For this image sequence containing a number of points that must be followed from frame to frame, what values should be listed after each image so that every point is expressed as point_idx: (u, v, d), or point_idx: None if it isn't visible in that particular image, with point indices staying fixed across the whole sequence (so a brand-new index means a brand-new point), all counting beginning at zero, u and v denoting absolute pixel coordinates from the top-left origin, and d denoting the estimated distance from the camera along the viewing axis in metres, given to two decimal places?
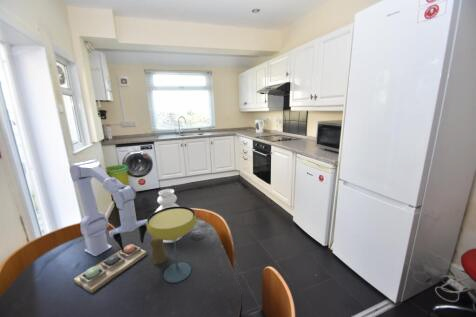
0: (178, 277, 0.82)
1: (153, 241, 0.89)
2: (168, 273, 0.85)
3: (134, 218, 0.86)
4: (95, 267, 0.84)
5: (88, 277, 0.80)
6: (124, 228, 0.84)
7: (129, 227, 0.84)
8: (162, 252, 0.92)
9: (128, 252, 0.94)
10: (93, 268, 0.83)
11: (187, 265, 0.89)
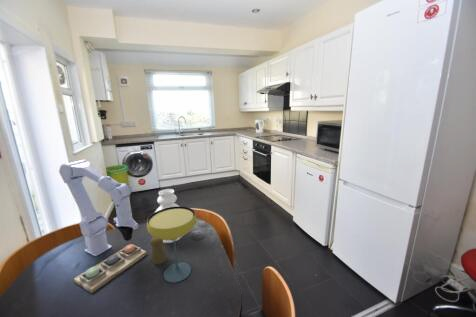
0: (178, 277, 0.82)
1: (153, 241, 0.89)
2: (168, 273, 0.85)
3: (122, 216, 0.90)
4: (95, 267, 0.84)
5: (88, 277, 0.80)
6: None
7: (118, 222, 0.91)
8: (162, 252, 0.92)
9: (128, 252, 0.94)
10: (93, 268, 0.83)
11: (187, 265, 0.89)
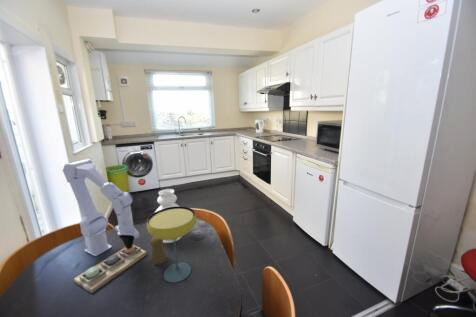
0: (178, 277, 0.82)
1: (153, 241, 0.89)
2: (168, 273, 0.85)
3: (124, 225, 0.91)
4: (95, 267, 0.84)
5: (88, 277, 0.80)
6: None
7: (119, 230, 0.92)
8: (162, 252, 0.92)
9: (128, 253, 0.94)
10: (93, 268, 0.83)
11: (187, 265, 0.89)
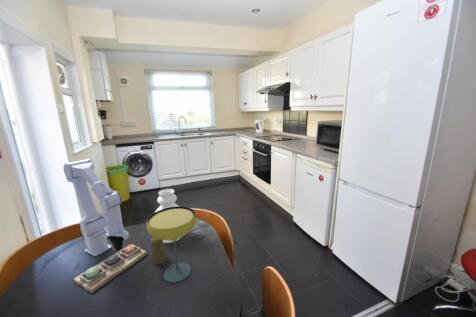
0: (178, 277, 0.82)
1: (153, 241, 0.89)
2: (168, 273, 0.85)
3: (112, 226, 0.86)
4: (95, 267, 0.84)
5: (88, 277, 0.80)
6: None
7: (108, 231, 0.87)
8: (162, 252, 0.92)
9: (128, 254, 0.94)
10: (93, 268, 0.83)
11: (187, 265, 0.89)
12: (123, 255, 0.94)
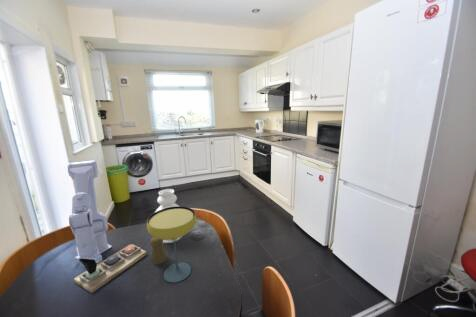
0: (178, 277, 0.82)
1: (153, 241, 0.89)
2: (168, 273, 0.85)
3: (83, 248, 0.77)
4: None
5: (88, 279, 0.80)
6: None
7: (78, 254, 0.78)
8: (162, 252, 0.92)
9: (128, 254, 0.94)
10: None
11: (187, 265, 0.89)
12: (123, 255, 0.94)
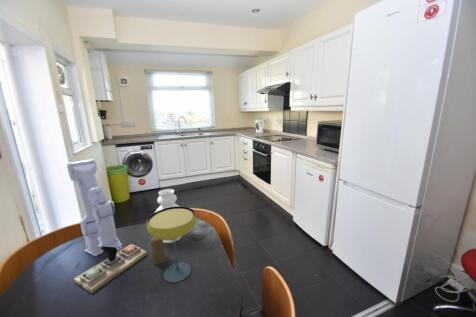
0: (178, 277, 0.82)
1: (153, 241, 0.89)
2: (168, 273, 0.85)
3: (105, 236, 0.84)
4: (95, 269, 0.84)
5: (88, 279, 0.80)
6: None
7: (101, 242, 0.85)
8: (162, 252, 0.92)
9: (128, 254, 0.94)
10: (93, 270, 0.83)
11: (187, 265, 0.89)
12: (123, 255, 0.94)
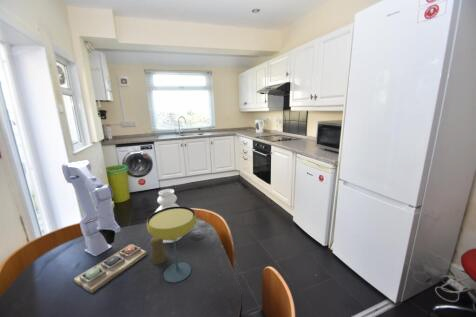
0: (178, 277, 0.82)
1: (153, 241, 0.89)
2: (168, 273, 0.85)
3: (103, 219, 0.86)
4: (95, 269, 0.84)
5: (88, 279, 0.80)
6: None
7: (99, 225, 0.87)
8: (162, 252, 0.92)
9: (128, 254, 0.94)
10: (93, 270, 0.83)
11: (187, 265, 0.89)
12: (123, 255, 0.94)
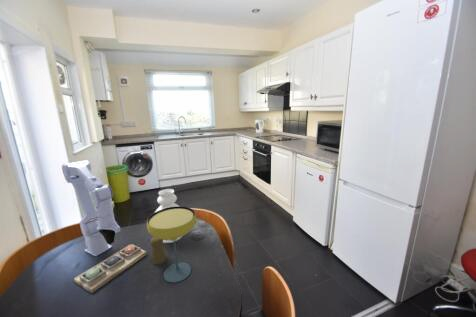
0: (178, 277, 0.82)
1: (153, 241, 0.89)
2: (168, 273, 0.85)
3: (103, 219, 0.86)
4: (95, 269, 0.84)
5: (88, 279, 0.80)
6: None
7: (99, 225, 0.87)
8: (162, 252, 0.92)
9: (128, 254, 0.94)
10: (93, 270, 0.83)
11: (187, 265, 0.89)
12: (123, 255, 0.94)
